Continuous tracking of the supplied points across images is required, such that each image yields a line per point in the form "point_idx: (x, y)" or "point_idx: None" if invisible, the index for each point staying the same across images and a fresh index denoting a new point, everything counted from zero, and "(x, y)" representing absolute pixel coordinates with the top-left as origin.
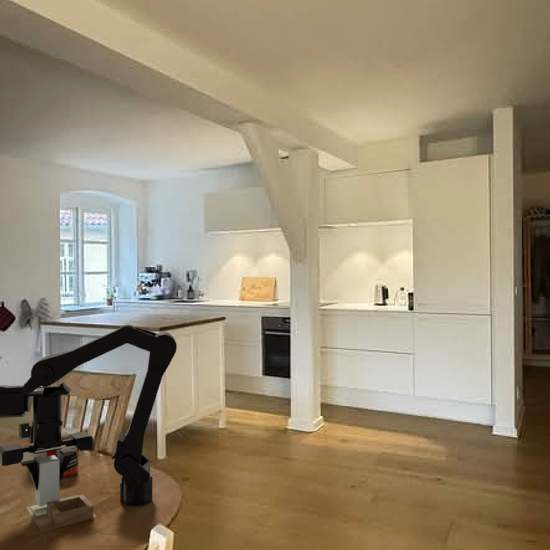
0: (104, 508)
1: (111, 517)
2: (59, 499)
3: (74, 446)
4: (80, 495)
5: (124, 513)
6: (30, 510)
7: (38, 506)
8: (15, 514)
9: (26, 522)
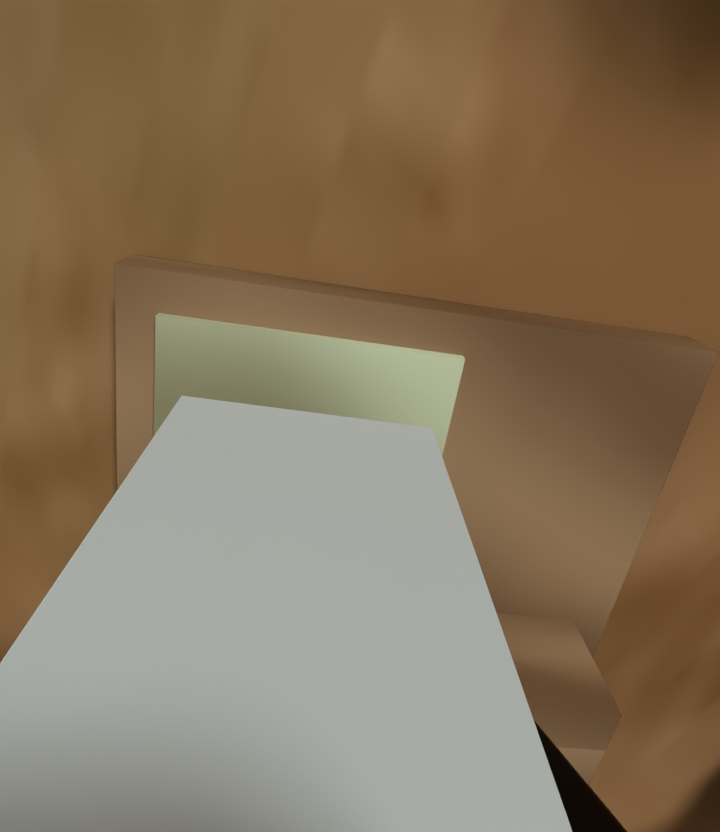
0: (688, 663)
1: (612, 792)
2: (512, 330)
3: None
4: (587, 727)
5: (706, 794)
6: (141, 394)
7: (236, 382)
8: (19, 235)
9: (88, 497)
